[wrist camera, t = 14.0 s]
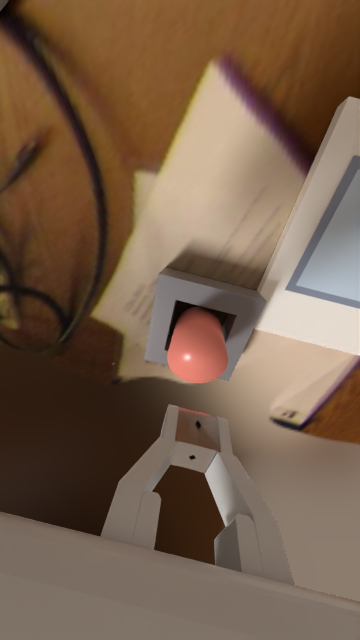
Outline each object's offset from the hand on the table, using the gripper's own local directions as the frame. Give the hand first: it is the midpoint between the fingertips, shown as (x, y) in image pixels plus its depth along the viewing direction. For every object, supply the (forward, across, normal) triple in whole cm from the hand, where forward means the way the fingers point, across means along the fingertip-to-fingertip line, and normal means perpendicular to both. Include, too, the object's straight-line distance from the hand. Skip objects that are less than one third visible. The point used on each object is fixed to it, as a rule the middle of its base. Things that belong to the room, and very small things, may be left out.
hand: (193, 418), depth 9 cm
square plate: (+11, -11, -9) cm, 18 cm away
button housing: (+11, 0, 0) cm, 11 cm away
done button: (+9, 0, 0) cm, 9 cm away
